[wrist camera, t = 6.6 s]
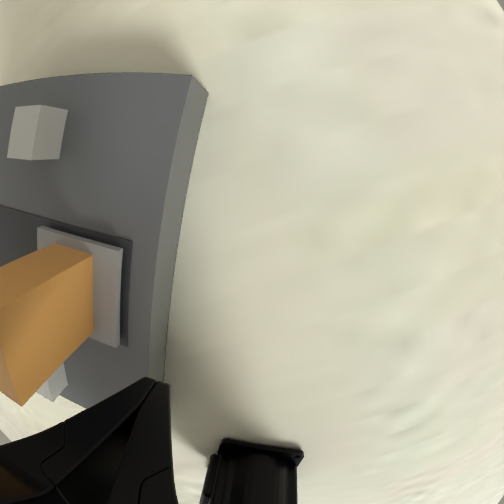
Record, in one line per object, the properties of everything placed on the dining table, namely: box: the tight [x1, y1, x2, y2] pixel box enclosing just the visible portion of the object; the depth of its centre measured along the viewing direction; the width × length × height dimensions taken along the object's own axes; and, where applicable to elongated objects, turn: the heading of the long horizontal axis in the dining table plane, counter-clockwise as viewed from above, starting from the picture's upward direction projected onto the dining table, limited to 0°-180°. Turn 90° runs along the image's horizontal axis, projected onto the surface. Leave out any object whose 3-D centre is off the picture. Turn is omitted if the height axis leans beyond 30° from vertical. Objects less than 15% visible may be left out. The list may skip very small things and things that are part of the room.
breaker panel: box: [0, 73, 209, 409], centre depth 13 cm, size 16×20×5 cm
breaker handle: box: [0, 226, 123, 406], centre depth 9 cm, size 5×5×6 cm
